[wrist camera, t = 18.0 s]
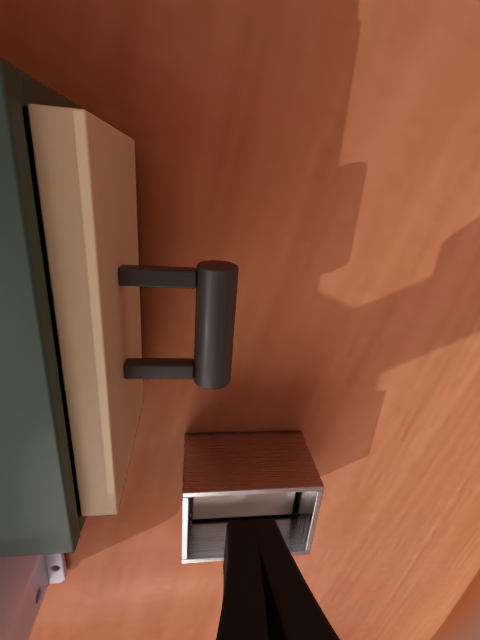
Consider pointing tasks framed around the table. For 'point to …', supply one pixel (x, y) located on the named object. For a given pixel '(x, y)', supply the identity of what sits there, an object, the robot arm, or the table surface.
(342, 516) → the table surface
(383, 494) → the table surface
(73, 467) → the cabinet
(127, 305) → the drawer
